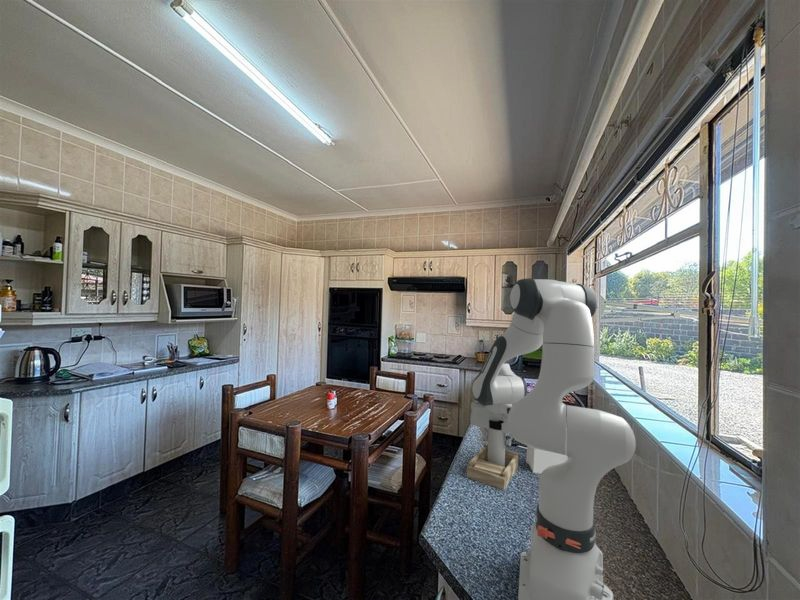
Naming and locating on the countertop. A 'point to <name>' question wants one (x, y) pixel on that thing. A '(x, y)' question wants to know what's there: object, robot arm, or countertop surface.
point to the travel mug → (496, 443)
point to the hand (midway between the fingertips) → (496, 442)
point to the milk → (543, 459)
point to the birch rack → (488, 477)
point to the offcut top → (489, 468)
